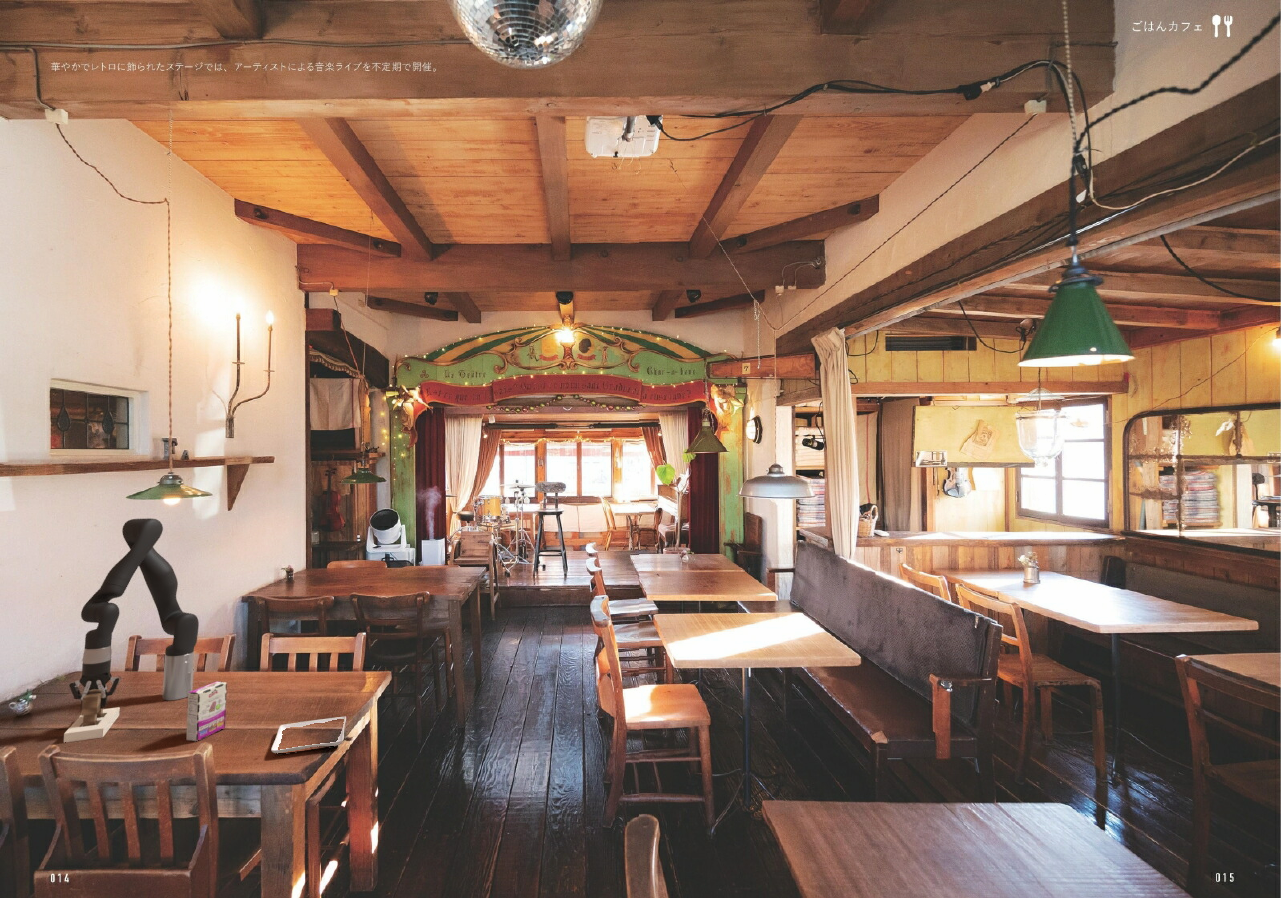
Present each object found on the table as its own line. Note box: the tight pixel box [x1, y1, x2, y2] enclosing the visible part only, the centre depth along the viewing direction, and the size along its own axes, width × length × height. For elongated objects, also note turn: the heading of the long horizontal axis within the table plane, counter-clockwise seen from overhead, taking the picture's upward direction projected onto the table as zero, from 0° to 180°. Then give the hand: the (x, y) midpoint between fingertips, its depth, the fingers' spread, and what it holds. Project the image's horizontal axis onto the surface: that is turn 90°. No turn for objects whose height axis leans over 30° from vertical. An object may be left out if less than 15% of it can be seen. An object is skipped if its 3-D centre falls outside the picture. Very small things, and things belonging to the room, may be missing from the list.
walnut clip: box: [80, 689, 104, 727], centre depth 212 cm, size 4×10×11 cm, turn 29°
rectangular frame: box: [270, 716, 347, 755], centre depth 208 cm, size 21×21×3 cm
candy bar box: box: [185, 680, 228, 742], centre depth 211 cm, size 11×5×16 cm, turn 168°
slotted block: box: [63, 706, 121, 744], centre depth 212 cm, size 10×20×3 cm, turn 29°
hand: (93, 708), depth 212 cm, fingers closed on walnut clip, 4 cm apart
